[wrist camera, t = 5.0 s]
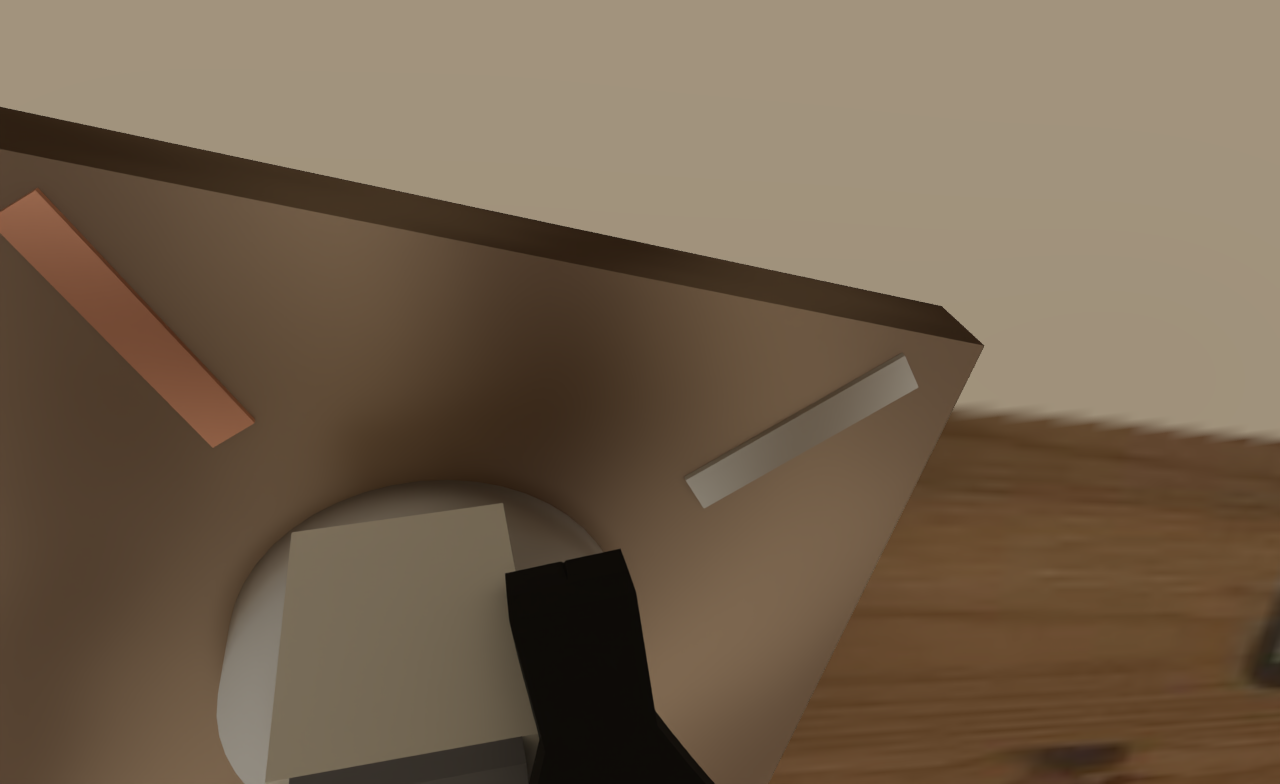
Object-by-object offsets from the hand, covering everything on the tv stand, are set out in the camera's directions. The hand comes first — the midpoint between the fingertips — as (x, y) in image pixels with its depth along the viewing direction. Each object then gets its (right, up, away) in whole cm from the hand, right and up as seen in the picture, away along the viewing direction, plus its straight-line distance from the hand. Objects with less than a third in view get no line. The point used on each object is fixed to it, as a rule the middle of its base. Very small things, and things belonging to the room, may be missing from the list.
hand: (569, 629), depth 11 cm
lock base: (-3, -1, +7) cm, 8 cm away
